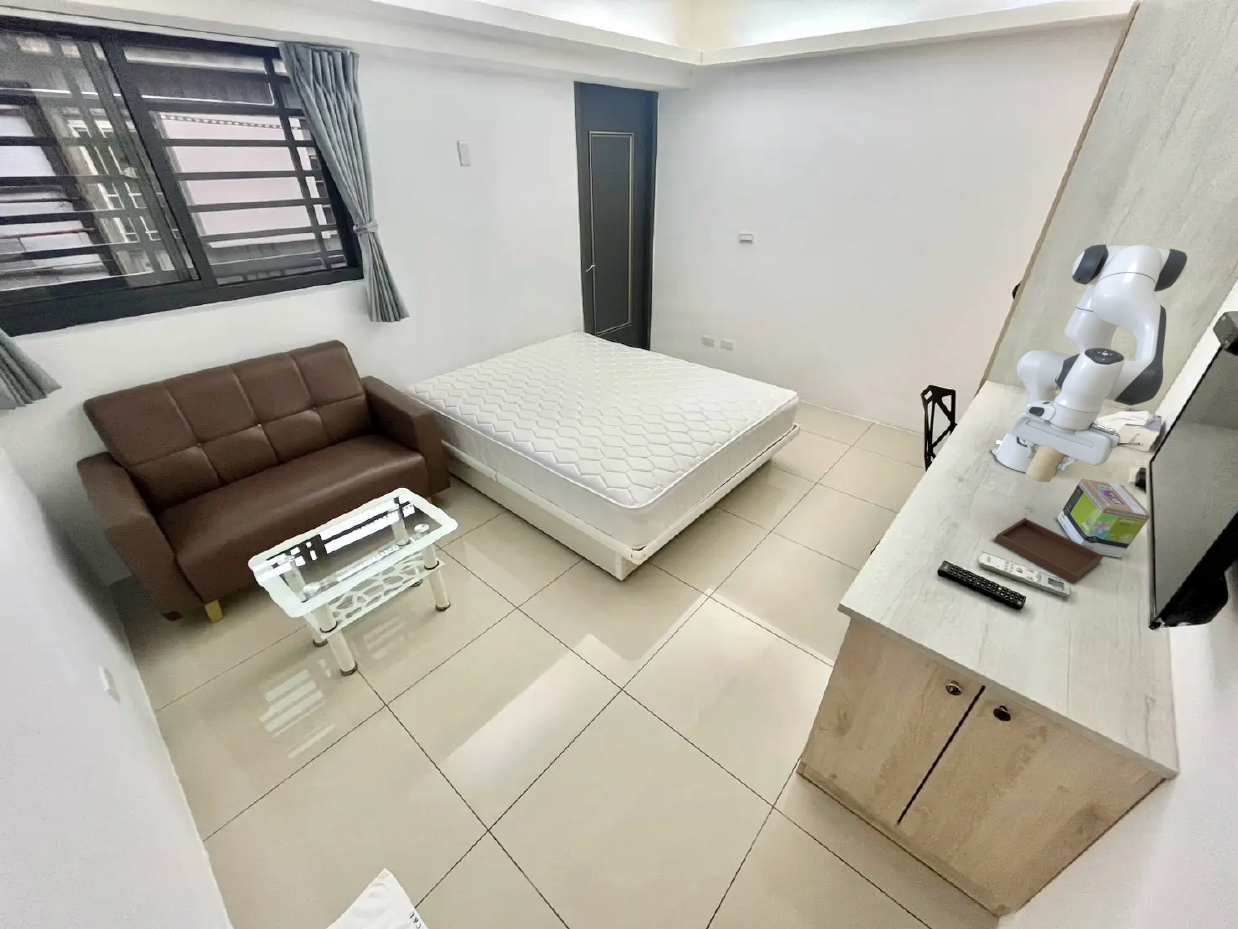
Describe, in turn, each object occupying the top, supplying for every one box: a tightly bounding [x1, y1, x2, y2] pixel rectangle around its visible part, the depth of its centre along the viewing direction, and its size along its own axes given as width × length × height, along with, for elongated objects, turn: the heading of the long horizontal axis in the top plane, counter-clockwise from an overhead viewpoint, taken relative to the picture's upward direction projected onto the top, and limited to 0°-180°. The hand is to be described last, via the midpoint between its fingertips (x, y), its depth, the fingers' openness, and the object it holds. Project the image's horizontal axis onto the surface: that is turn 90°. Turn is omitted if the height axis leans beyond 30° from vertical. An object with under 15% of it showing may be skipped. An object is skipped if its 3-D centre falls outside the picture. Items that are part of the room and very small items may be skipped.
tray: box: [993, 517, 1104, 584], centre depth 131 cm, size 15×19×3 cm
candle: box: [1025, 446, 1066, 483], centre depth 126 cm, size 6×6×10 cm
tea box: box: [1057, 478, 1152, 559], centre depth 132 cm, size 15×10×15 cm
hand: (1045, 463), depth 126 cm, fingers closed on candle, 5 cm apart
